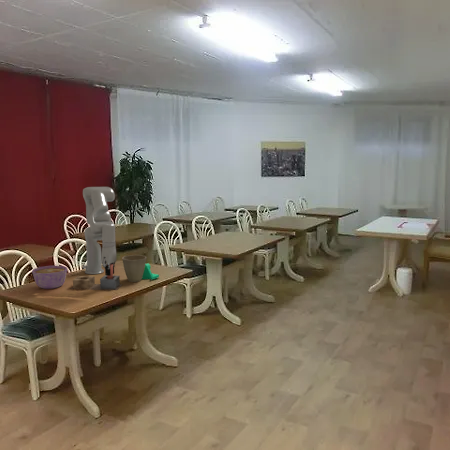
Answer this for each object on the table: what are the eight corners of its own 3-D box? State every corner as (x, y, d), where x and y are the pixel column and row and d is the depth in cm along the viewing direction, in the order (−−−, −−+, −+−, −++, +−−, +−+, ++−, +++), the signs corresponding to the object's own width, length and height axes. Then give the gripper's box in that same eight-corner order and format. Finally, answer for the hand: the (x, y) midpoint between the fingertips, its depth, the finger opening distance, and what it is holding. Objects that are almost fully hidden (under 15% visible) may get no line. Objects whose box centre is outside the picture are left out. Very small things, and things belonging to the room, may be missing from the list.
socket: (100, 289, 276) (100, 279, 275) (105, 284, 285) (104, 275, 284) (115, 289, 276) (115, 279, 275) (119, 285, 285) (119, 275, 284)
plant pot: (122, 285, 288) (121, 260, 286) (123, 279, 303) (122, 255, 300) (146, 284, 291) (146, 259, 288) (146, 278, 305) (146, 254, 303)
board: (70, 290, 276) (70, 288, 276) (78, 285, 288) (78, 283, 288) (117, 292, 274) (117, 290, 274) (122, 286, 286) (122, 284, 286)
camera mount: (159, 278, 306) (159, 263, 304) (151, 281, 299) (151, 265, 298) (146, 276, 312) (145, 261, 311) (138, 278, 306) (137, 263, 304)
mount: (73, 288, 277) (72, 280, 276) (78, 284, 286) (78, 276, 285) (89, 288, 277) (89, 280, 276) (94, 284, 286) (94, 276, 285)
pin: (106, 284, 279) (105, 264, 277) (109, 282, 282) (108, 263, 280) (111, 284, 278) (110, 265, 276) (114, 283, 281) (113, 264, 279)
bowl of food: (75, 286, 285) (74, 268, 283) (48, 294, 268) (47, 275, 266) (53, 281, 295) (52, 264, 293) (25, 289, 278) (24, 270, 276)
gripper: (110, 241, 285) (111, 270, 288) (95, 246, 270) (96, 277, 273) (121, 242, 283) (122, 271, 286) (107, 247, 268) (107, 278, 270)
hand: (109, 274), depth 279 cm, fingers closed on pin, 3 cm apart
